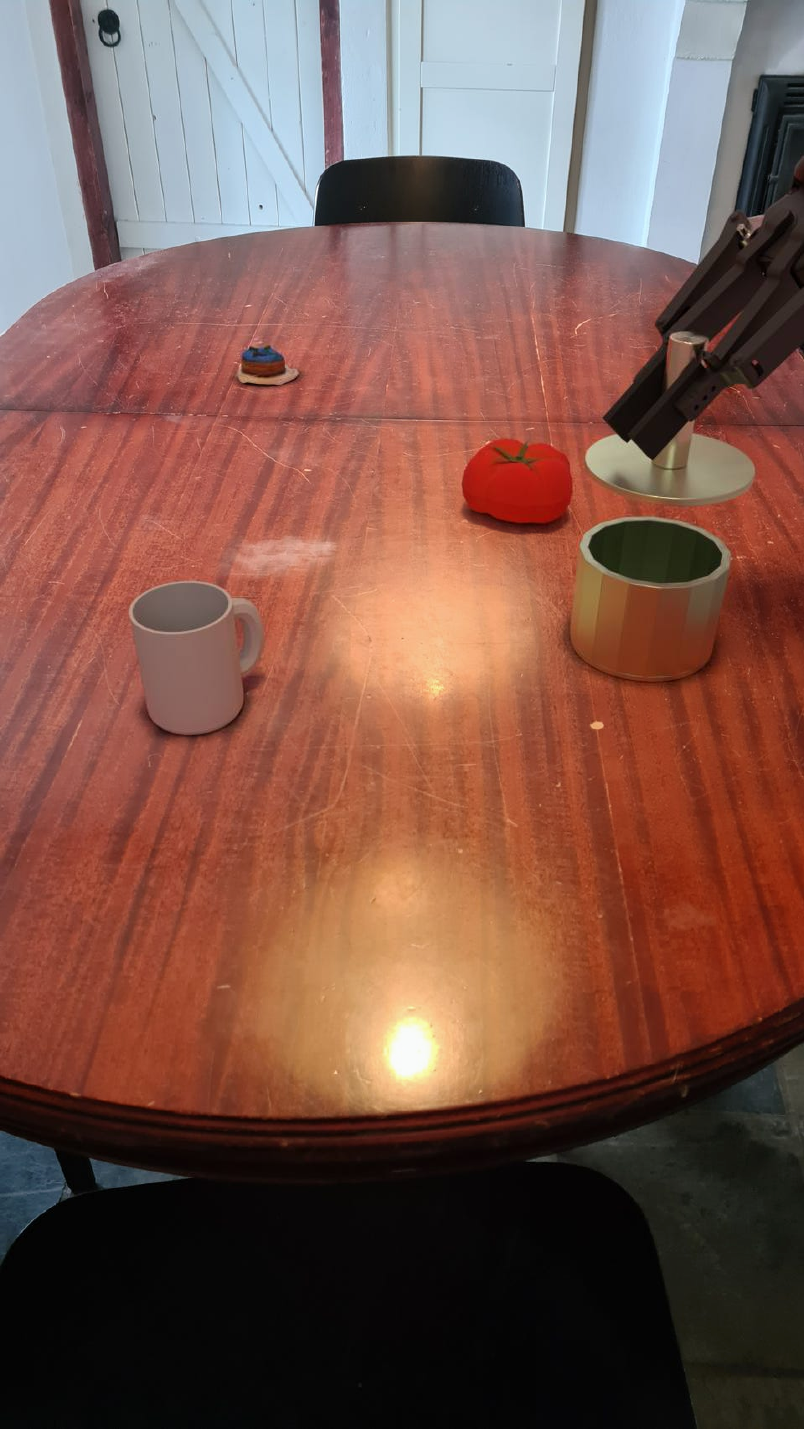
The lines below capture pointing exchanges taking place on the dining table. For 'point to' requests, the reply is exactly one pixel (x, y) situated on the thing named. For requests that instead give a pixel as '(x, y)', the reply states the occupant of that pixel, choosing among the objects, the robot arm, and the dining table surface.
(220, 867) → the dining table surface
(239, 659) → the cup
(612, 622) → the round metal container
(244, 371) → the dessert
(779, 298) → the robot arm
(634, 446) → the lid
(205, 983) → the dining table surface
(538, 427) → the dining table surface
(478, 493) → the tomato
